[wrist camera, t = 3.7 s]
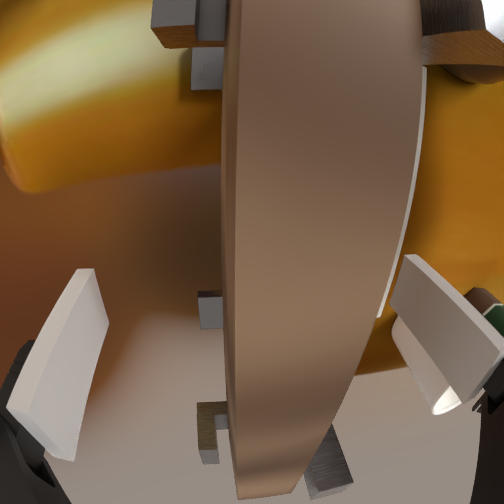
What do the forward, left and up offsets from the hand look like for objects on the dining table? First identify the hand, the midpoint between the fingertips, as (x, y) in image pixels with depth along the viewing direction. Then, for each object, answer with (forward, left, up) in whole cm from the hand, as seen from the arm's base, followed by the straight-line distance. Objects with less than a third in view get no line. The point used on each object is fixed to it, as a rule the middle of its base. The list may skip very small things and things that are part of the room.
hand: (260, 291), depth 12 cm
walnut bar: (0, 0, 0) cm, 0 cm away
